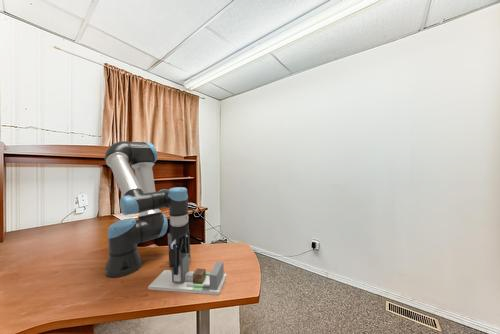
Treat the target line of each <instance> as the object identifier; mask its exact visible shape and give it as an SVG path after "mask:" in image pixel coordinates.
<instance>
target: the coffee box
mask: <svg viewBox="0 0 500 334" xmlns="http://www.w3.org/2000/svg"><path fill="white" fill-rule="evenodd" d="M188 232H189V247H190V248H191V237H190V236H191V235H190V230H189V231H188ZM172 243H173V236H172V235H171V234H170V232H168V233H167V246H168V247H167V248H168V250H167V251H168V264H169V265H170V249H169V244H172ZM187 251H188V250H187ZM180 253H181V252H180ZM188 255H190V256H189V263H190V262H192V260H191V252H190V253H189V254H188Z"/></svg>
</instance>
